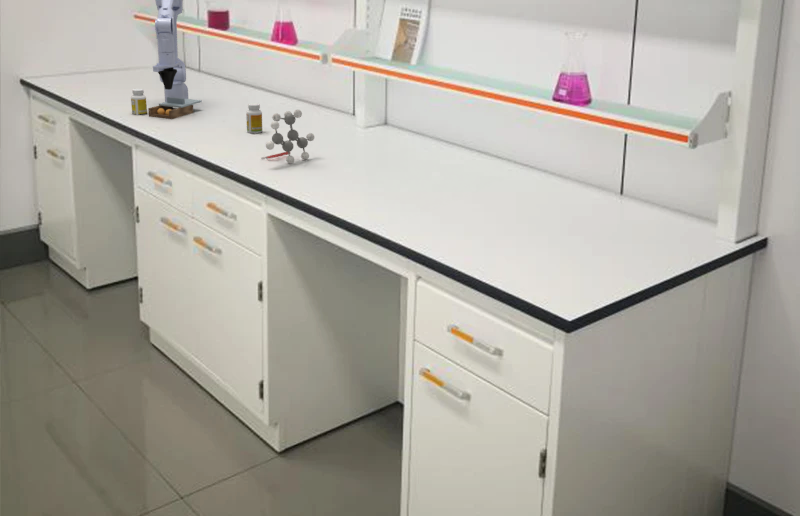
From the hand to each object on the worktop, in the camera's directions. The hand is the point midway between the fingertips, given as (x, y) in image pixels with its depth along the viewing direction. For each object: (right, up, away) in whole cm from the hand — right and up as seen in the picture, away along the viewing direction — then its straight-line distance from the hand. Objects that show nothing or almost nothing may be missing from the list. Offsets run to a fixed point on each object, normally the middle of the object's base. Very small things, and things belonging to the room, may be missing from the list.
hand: (168, 89), depth 331 cm
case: (0, -9, +4) cm, 10 cm away
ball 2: (0, -10, 0) cm, 10 cm away
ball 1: (-3, -10, +1) cm, 10 cm away
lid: (+2, -4, +9) cm, 10 cm away
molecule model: (+49, -32, -52) cm, 79 cm away
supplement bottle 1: (-12, -9, +4) cm, 16 cm away
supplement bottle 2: (+34, -18, -16) cm, 42 cm away
